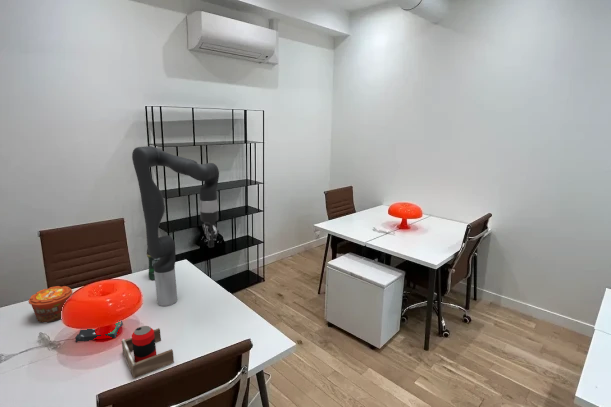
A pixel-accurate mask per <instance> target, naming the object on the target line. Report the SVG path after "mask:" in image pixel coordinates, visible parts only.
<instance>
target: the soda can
mask: <svg viewBox="0 0 611 407" xmlns="http://www.w3.org/2000/svg"><path fill="white" fill-rule="evenodd" d="M154 330H155V329H153V328H152V327H151V326H149V325H141V326H138V327H137V328H135V329H134V331H133V332H132V334H131V338H132V344H133V351H132V352H133V360H134V362H135V363H137V362H139V361H142V360H145V359H147V358H150V357H152V356H155V355H157V345H156V342H155V336H154Z"/></svg>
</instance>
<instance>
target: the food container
mask: <svg viewBox="0 0 611 407" xmlns="http://www.w3.org/2000/svg"><path fill="white" fill-rule="evenodd" d="M71 295H73V289H72V288H70V287H69V286H66V285H63V286H60V285H57V286H51V287H49V288H44V289H41V290H38V291H37V292H36V293H35V294H32V295H31V296H30V298H29V299H28V304H29V305H31V307H32V310H33V312H34V313H33V314H35V315H34V316H35V318H36V321H37V322H39V323H43V322H47V323H52V321H53V322H56V321H60V320H62V319H61V311H62V307H63V305H64V303H65V302H66V300H67V299H68V298H69V297H70V296H71ZM71 297H72V296H71Z"/></svg>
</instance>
